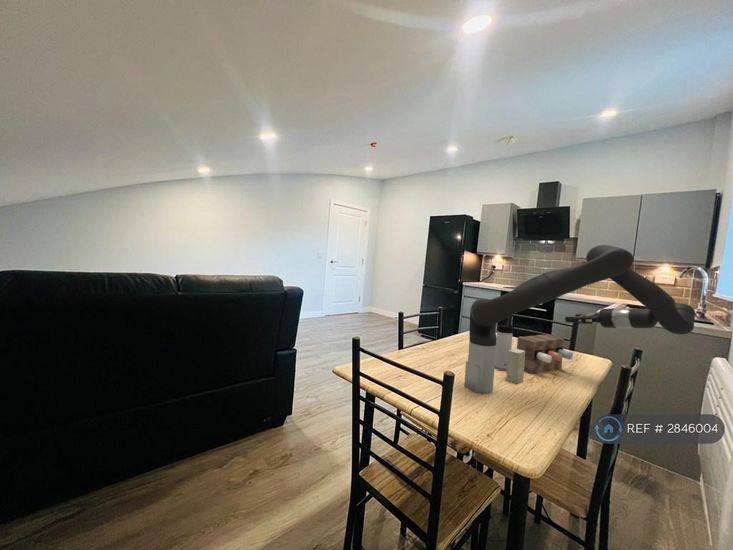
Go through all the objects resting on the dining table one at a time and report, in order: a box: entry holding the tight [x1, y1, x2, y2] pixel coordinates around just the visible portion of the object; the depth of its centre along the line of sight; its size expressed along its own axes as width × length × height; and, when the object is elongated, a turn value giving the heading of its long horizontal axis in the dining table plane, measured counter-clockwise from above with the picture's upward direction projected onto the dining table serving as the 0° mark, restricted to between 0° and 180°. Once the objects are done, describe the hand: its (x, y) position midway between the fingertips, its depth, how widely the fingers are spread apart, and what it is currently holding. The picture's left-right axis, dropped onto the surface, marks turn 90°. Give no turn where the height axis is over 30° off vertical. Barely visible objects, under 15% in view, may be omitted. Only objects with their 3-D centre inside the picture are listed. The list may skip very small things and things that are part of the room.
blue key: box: [558, 349, 574, 360], centre depth 128 cm, size 3×4×3 cm
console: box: [516, 333, 565, 375], centre depth 131 cm, size 20×8×14 cm, turn 114°
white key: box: [537, 352, 552, 363], centre depth 122 cm, size 3×4×3 cm
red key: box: [547, 351, 563, 361], centre depth 125 cm, size 3×4×3 cm
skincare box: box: [505, 347, 525, 384], centre depth 116 cm, size 6×4×12 cm
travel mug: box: [494, 324, 515, 372], centre depth 128 cm, size 6×7×20 cm
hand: (570, 318), depth 124 cm, fingers open, 8 cm apart
